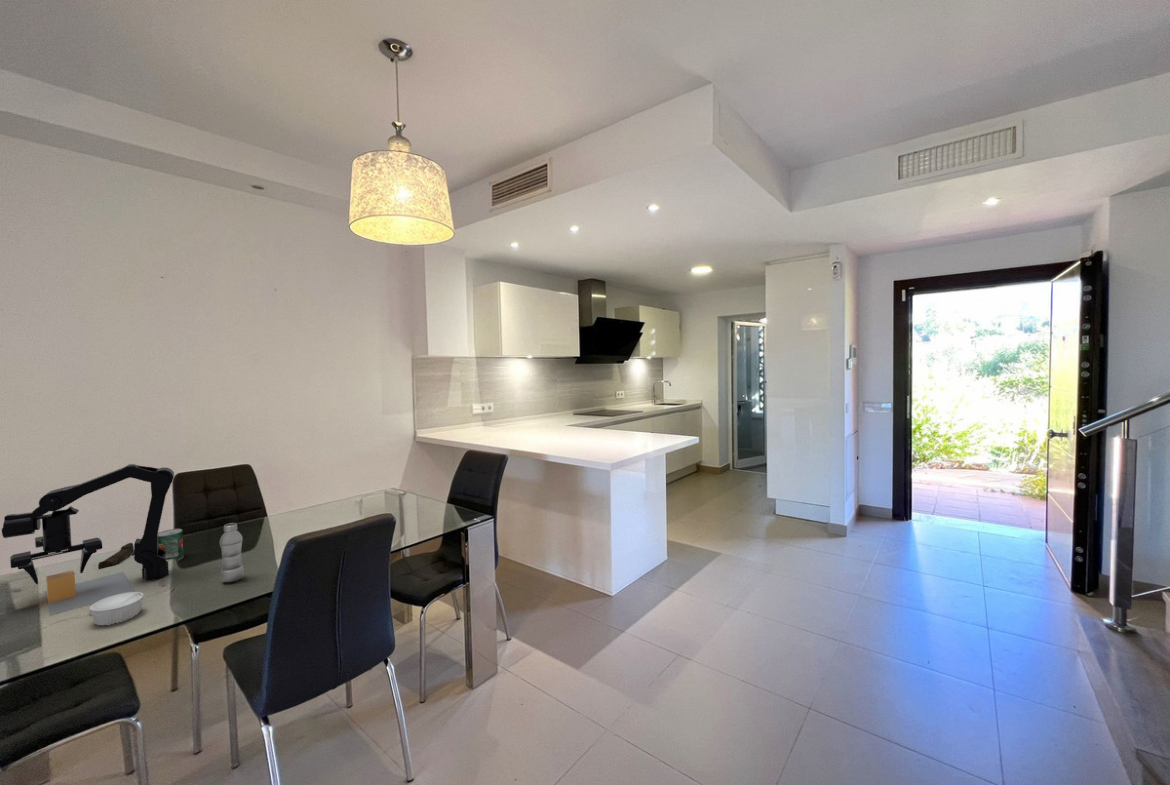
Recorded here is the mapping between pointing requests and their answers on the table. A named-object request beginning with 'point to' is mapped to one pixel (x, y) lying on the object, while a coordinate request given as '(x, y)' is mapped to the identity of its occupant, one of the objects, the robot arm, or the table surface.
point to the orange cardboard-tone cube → (60, 586)
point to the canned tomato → (171, 543)
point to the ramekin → (116, 608)
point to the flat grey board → (93, 592)
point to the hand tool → (117, 556)
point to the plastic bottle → (231, 554)
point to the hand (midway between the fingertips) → (59, 578)
